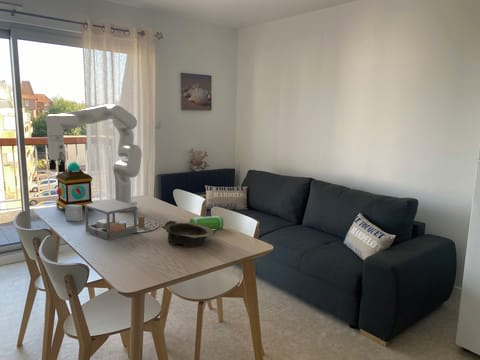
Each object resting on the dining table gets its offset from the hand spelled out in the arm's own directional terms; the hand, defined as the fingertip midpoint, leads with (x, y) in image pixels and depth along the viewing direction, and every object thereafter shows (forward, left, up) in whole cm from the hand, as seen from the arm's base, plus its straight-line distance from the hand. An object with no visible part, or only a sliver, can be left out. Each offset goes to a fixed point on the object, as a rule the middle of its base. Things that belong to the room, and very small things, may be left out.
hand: (57, 170), depth 193 cm
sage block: (-12, +24, -30) cm, 40 cm away
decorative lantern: (-23, -25, -30) cm, 45 cm away
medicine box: (-10, -3, -30) cm, 32 cm away
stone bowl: (-29, +69, -30) cm, 81 cm away
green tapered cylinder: (-49, +63, -30) cm, 85 cm away
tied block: (-19, +34, -30) cm, 49 cm away
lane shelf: (-13, +29, -30) cm, 44 cm away
